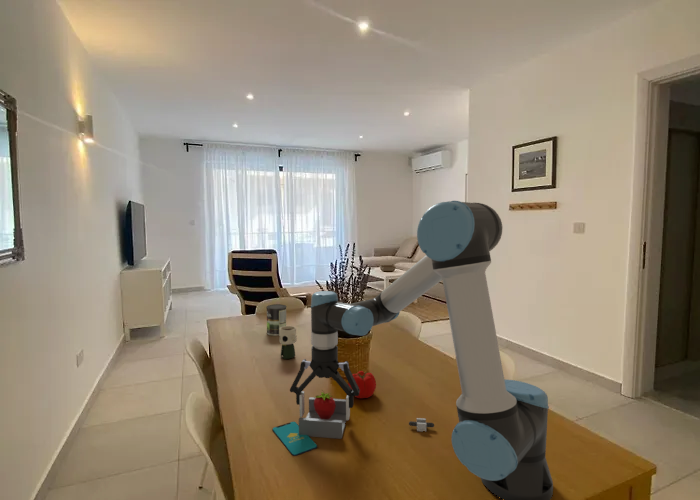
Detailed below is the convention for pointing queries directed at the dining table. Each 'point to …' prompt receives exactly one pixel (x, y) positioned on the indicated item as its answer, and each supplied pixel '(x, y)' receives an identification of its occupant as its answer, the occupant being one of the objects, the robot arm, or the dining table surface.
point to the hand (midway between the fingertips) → (324, 416)
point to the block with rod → (421, 424)
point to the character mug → (287, 341)
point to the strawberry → (324, 405)
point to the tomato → (365, 384)
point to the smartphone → (294, 438)
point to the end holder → (324, 421)
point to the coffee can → (275, 318)
